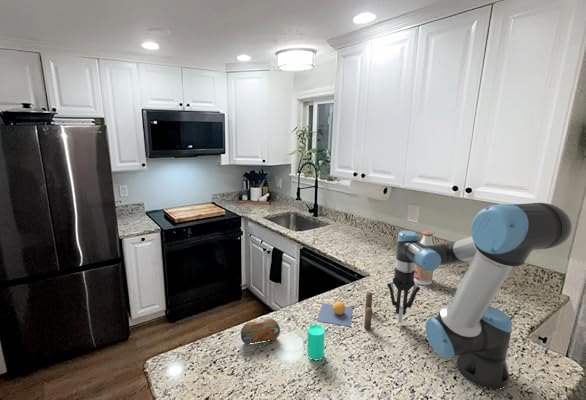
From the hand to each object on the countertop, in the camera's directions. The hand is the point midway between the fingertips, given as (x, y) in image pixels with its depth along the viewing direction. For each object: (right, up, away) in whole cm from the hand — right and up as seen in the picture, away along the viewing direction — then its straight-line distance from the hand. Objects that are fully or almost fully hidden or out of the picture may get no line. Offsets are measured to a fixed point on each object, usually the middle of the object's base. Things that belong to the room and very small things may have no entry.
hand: (399, 320), depth 128 cm
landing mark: (-26, 0, +7) cm, 27 cm away
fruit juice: (+25, +6, +37) cm, 46 cm away
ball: (-25, +3, +7) cm, 26 cm away
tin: (-58, -4, -10) cm, 59 cm away
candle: (-37, -6, -17) cm, 41 cm away
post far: (-11, 0, +10) cm, 15 cm away
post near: (-14, -2, -2) cm, 15 cm away
